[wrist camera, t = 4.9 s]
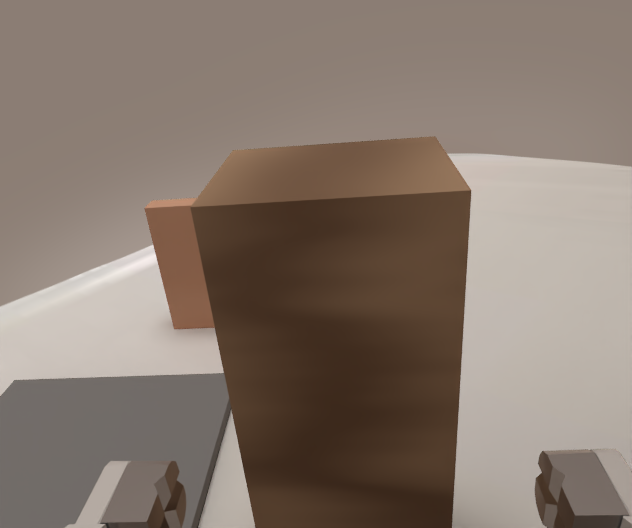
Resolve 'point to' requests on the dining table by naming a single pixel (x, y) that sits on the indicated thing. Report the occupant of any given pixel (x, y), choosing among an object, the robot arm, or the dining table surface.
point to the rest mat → (104, 439)
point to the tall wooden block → (341, 327)
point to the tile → (180, 262)
